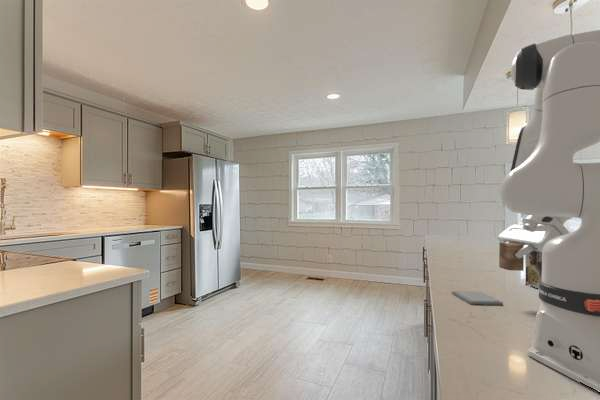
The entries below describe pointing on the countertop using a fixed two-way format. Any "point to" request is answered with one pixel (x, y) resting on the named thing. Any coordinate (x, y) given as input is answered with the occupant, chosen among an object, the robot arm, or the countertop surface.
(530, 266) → the coffee box
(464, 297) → the plate
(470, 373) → the countertop surface
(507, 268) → the walnut block
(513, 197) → the robot arm
